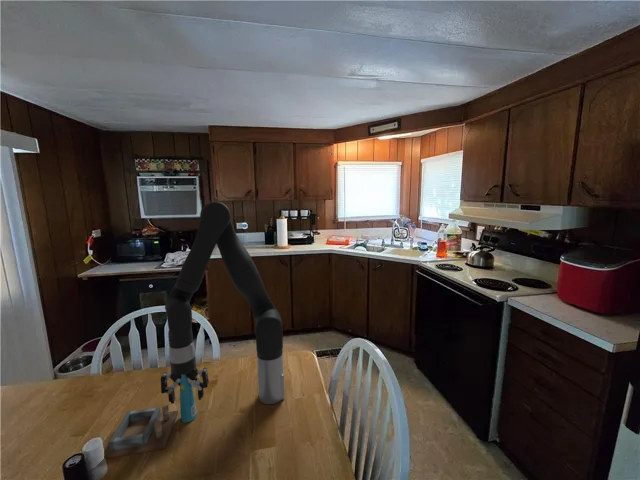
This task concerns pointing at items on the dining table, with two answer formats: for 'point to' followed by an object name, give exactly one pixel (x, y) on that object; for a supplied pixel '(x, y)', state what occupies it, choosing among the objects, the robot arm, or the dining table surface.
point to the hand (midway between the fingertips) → (186, 400)
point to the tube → (187, 400)
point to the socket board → (142, 432)
